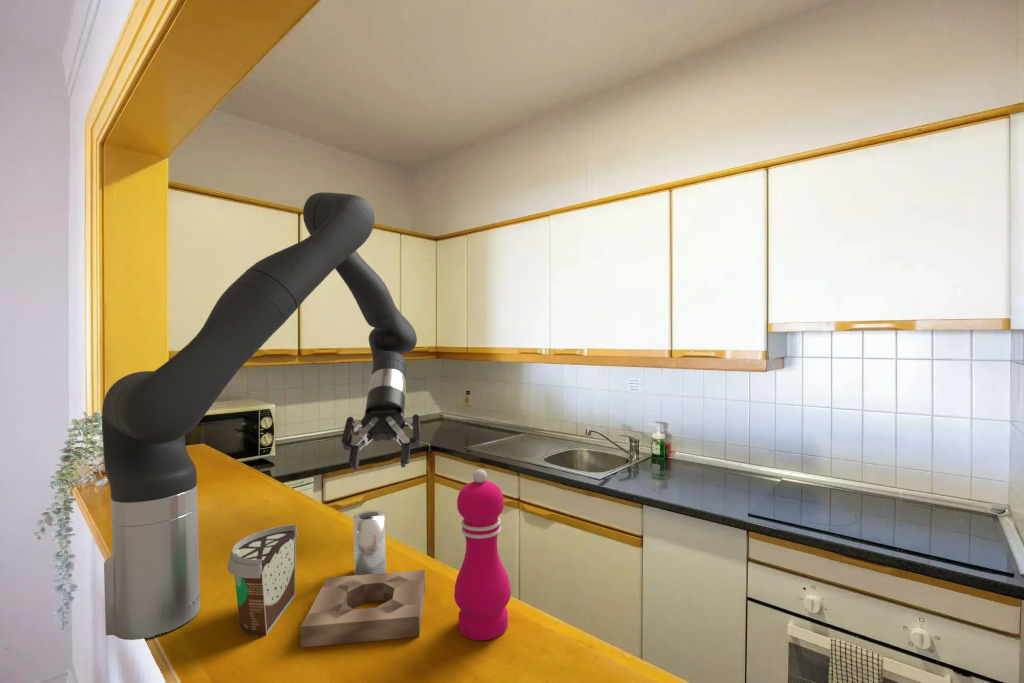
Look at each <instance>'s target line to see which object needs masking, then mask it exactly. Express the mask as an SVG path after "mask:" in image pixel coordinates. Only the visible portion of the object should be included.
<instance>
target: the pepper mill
mask: <svg viewBox="0 0 1024 683" xmlns="http://www.w3.org/2000/svg"><path fill="white" fill-rule="evenodd" d="M472 477H473V478H472V479H473V481H471V482H468V483H467V484H465V485H464V486H463V487H462V488H461V489H460V490H459V492H458V496H457V499H456V507H457V510H458V511H457V512H458V513H459V515H460V516H461V517H462V520H461V526H462V528H461V533H462V535H463V536H465V553H464V559H463V561H462V565H461V567H460V570H459V572H458V574H457V576H456V581H455V584H454V592H453V593H454V595H453V598H454V602H455V604H456V605H457V607H458V608H459V609H460V610H459V612H458V630H459V631H460V634H461V635H463V636H464V637H465V638H467V639H470V640H474V641H490V640H493V639H496V638H498V637H499V636H501V635H503V634H504V633H505V632H506V631H507V628H508V626H509V623H508V622H509V621H508V619H509V618H508V617H509V616H508V615H509V613H508V609H507V606H508V603H509V602H510V600H511V594H512V590H511V588H512V587H511V582H510V580H509V579H510V578H509V575H508V573H507V571H506V569H505V567H504V564H503V562H502V561H501V558H500V554H499V550H498V549H499V548H498V537H499V536H498V534H500V532H501V530H502V527H501V519H500V517H499V516H500V515H501V514H502V512H503V511H504V507H505V498H504V494H503V492H502V489H501V488H500V487H499V486H498V485H497V484H496V483H494V482H492V481H489V480H487V478H488V474H487V472H486V471H485V470H484V469H477V470H475V471H474V472H473V476H472Z"/></svg>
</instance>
